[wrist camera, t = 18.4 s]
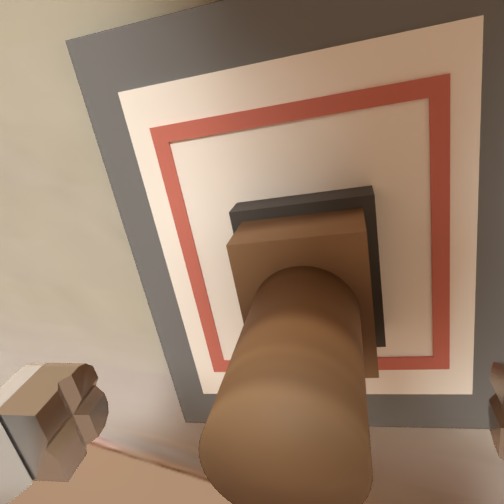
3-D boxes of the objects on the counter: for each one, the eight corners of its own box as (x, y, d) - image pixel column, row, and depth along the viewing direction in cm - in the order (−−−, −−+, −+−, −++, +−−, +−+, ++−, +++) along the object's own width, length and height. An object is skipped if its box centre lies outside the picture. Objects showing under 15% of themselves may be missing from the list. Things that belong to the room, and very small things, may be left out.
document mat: (71, 41, 15) (61, 40, 14) (541, -79, 11) (552, -87, 10) (188, 416, 21) (184, 425, 21) (505, 422, 18) (510, 433, 17)
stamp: (236, 202, 15) (122, 345, 7) (371, 185, 14) (412, 334, 6) (263, 333, 18) (198, 553, 10) (383, 328, 16) (423, 577, 8)
